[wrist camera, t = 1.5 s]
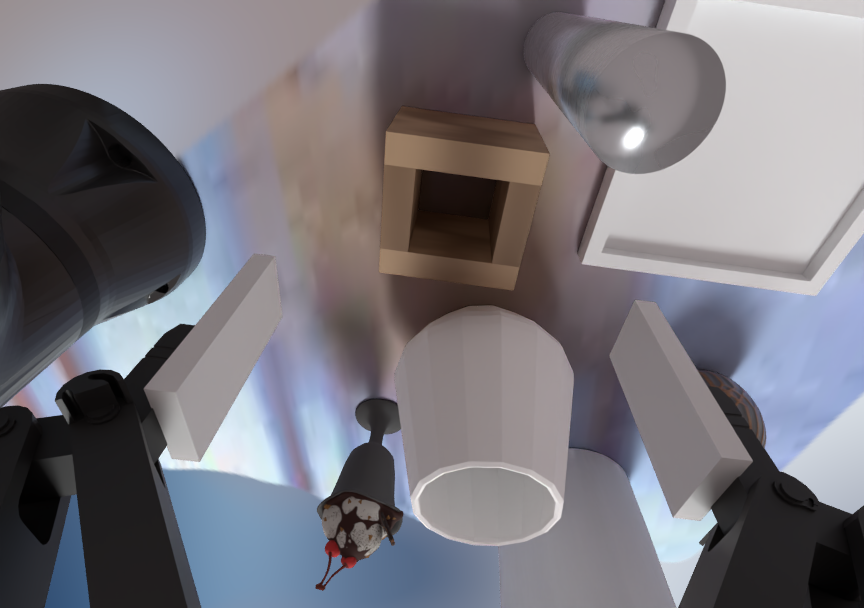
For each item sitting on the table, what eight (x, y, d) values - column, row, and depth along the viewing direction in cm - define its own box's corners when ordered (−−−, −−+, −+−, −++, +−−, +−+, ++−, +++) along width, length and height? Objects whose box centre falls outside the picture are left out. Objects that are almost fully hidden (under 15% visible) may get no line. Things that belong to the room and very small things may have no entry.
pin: (517, 75, 25) (568, 165, 12) (531, 7, 23) (611, 22, 10) (573, 83, 25) (688, 181, 12) (592, 16, 23) (753, 43, 10)
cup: (599, 331, 34) (663, 495, 23) (502, 424, 42) (513, 584, 30) (453, 251, 31) (444, 396, 20) (375, 366, 38) (334, 522, 27)
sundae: (334, 419, 43) (280, 588, 31) (368, 381, 40) (322, 553, 27) (391, 447, 45) (361, 616, 33) (428, 413, 41) (410, 588, 29)
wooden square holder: (393, 228, 31) (378, 272, 26) (401, 105, 26) (385, 131, 21) (506, 243, 31) (513, 290, 26) (535, 124, 26) (549, 154, 21)
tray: (577, 253, 31) (581, 264, 29) (676, -33, 21) (689, -35, 20) (802, 283, 31) (815, 296, 30) (998, 12, 22) (1029, 13, 20)
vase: (752, 380, 36) (822, 475, 29) (683, 424, 40) (730, 518, 33) (694, 343, 34) (753, 434, 27) (628, 393, 38) (664, 484, 31)
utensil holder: (545, 422, 41) (586, 650, 27) (668, 474, 44) (762, 704, 30) (466, 495, 49) (464, 702, 35) (574, 536, 52) (613, 740, 38)
